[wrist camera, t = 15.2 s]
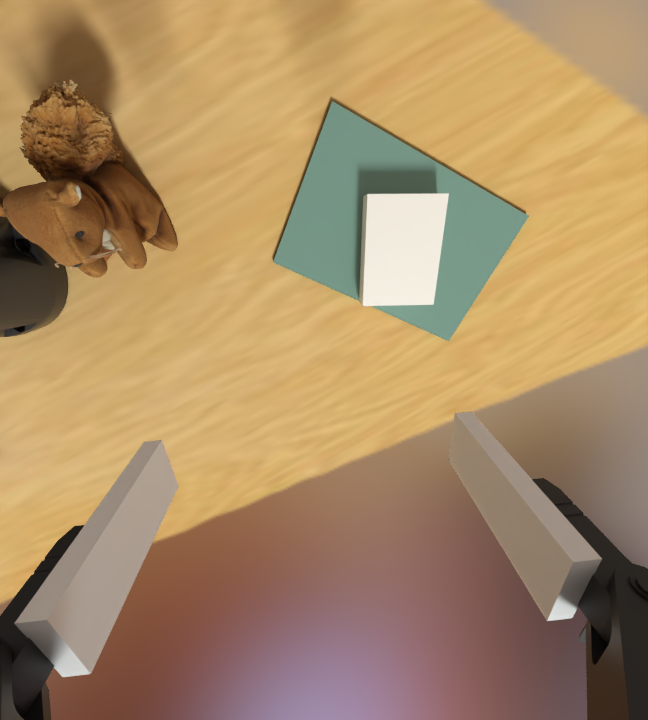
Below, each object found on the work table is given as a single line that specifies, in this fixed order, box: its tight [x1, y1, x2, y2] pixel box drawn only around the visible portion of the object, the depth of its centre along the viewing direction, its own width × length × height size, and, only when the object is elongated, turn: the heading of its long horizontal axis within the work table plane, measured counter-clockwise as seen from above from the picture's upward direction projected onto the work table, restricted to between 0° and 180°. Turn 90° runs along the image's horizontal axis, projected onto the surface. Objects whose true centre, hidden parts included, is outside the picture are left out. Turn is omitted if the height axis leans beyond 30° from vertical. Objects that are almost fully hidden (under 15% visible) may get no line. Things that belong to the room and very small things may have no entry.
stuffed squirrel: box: [0, 80, 178, 278], centre depth 26 cm, size 10×14×13 cm
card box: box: [359, 193, 449, 306], centre depth 33 cm, size 8×3×11 cm
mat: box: [273, 101, 529, 341], centre depth 34 cm, size 24×16×1 cm, turn 66°
